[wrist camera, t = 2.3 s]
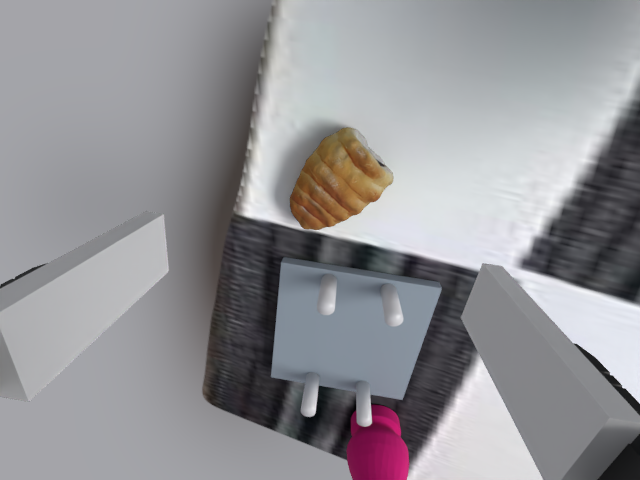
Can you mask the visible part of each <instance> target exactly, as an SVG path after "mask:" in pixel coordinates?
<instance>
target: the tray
mask: <svg viewBox="0 0 640 480" xmlns="http://www.w3.org/2000/svg"><path fill="white" fill-rule="evenodd" d="M441 289H442V288H441V286H440V284H439V282H436V281H430V280H424V279H418V278H411V277H405V276H399V275H393V274H387V273H380V272H374V271H368V270H362V269H356V268H349V267H343V266H337V265H331V264H324V263H318V262H312V261H306V260H300V259H293V258H287V257H283V260H282V262H281V271H280V282H279V293H278V304H277V316H276V327H275V338H274V349H273V361H272V372H271V377H273V378H279V379H285V380H291V381H296V382H302V383H305V387H304V393H303V399H302V405H301V413H302V414H303V415H304V416H307V417H311V416H314V415H315V413H316V404H317V396H318V387H319V386H325V387H331V388H337V389H343V390H348V391H354V392H356V413H357V423H358V425H360V426H364V427H366V426H369V425H371V424H372V415H371V399H370V394H371V395H377V396H383V397H389V398H395V399H400V400H402V399H403V397H404V394H405V391H406V388H407V385H408V382H409V380H410V377H411V374H412V371H413V368H414V365H415V363H416V360H417V357H418V354H419V351H420V349H421V346H422V343H423V340H424V337H425V334H426V332H427V329H428V326H429V323H430V320H431V317H432V315H433V312H434V309H435V306H436V303H437V300H438V298H439V295H440V292H441Z"/></svg>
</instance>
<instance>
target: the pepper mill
mask: <svg viewBox="0 0 640 480" xmlns="http://www.w3.org/2000/svg"><path fill="white" fill-rule="evenodd" d="M371 415H372V424H371V425H369V426H366V427H364V426H360V425H358V423H357V413H356V411H355V412H354V413H353V415H352V417H351V434H352V438H351V439H350V441H349V443H348V446H347V461H348V465H349V470H350V473H351V476H352V478H353V480H407V476H408V469H409V456H408V449H407V446H406V444H405V443H404V441H403V440H402V439H401V437H400V435H401V430H400V423H399V418H398V416H397V415H396V413H395V412H394V411H393V410H391V409H390V408H388V407H385V406H382V405H374V404H373V405H371Z"/></svg>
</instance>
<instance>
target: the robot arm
mask: <svg viewBox="0 0 640 480" xmlns="http://www.w3.org/2000/svg"><path fill="white" fill-rule="evenodd" d="M168 272H169V267H168V256H167V246H166V234H165V223H164V214H160V213H153V212H147V211H146V212H143V213H142V214H140V215H138V216H136V217H134V218H132V219H130V220H128V221H126V222H125V223H123V224H121V225H119V226H117V227H115V228H113V229H111V230H110V231H108V232H106V233H104V234H102V235H100V236H98V237H96V238H95V239H93V240H91V241H89V242H87V243H85V244H83V245H82V246H79V247H78V248H76V249H74V250H72V251H70V252H68V253H67V254H64V255H63V256H61V257H59V258H57V259H55V260H53V261H51V262H50V263H47V264H43V265H40V266H37V267H34V268H32V269H30V270H28V271H26V272H24V273H22V274H20V275H18V276H16V277H15V279H11V280H9V281H7V282H5V283H3V284H1V286H0V397H4V398H10V399H15V400H21V401H27V402H29V401H30V400H31V399H32V398H33V397H34V396H36V394H38V393H39V392H40V391H41V390H42V389H43V388H44V387H45V386H46V385H47V384H48V383H49V382H51V381H52V380H53V379H54V378H55V377H56V376H57V375H58V374H59V373H60V372H61V371H62V370H63V369H64V368H66V367H67V366H68V365H69V364H70V363H71V362H72V361H73V360H74V359H75V358H76V357H77V356H78V355H80V354H81V353H82V352H83V351H84V350H85V349H86V348H87V347H88V346H89V345H90V344H91V343H92V342H94V341H95V340H96V339H97V337H99V336H100V335H101V334H102V333H103V332H104V331H105V330H106V329H108V328H109V327H110V326H111V325H112V324H113V323H114V322H115V321H116V320H117V319H118V318H119V317H120V316H121V315H123V313H125V312H126V311H127V310H128V309H129V308H130V307H131V306H132V305H133V304H134V303H135V302H137V301H138V300H139V299H140V298H141V297H142V296H143V295H144V294H145V293H146V292H147V291H148V290H149V289H150V288H151V287H152V286H153V285H155V284H156V283H157V282H158V281H159V280H160V279H161V278H162V277H163V276H164V275H165V274H167V273H168ZM461 319H462V321H463V323H464V325H465V327H466V329H467V331H468V333H469V335H470V337H471V339H472V341H473V343H474V345H475V347H476V349H477V351H478V353H479V354H480V356H481V358H482V360H483V362H484V364H485V366H486V368H487V370H488V372H489V374H490V376H491V378H492V380H493V382H494V384H495V386H496V388H497V390H498V392H499V394H500V396H501V397H502V399H503V401H504V403H505V405H506V407H507V409H508V411H509V413H510V415H511V417H512V419H513V421H514V423H515V425H516V427H517V429H518V431H519V433H520V435H521V437H522V439H523V441H524V442H525V444H526V446H527V448H528V450H529V452H530V454H531V456H532V458H533V460H534V462H535V464H536V466H537V468H538V470H539V472H540V474H541V476H542V478H543V480H640V404H639V403H638V402H637V400H636V399H635V398H634V397H633V396H632V395H631V394H630V393H629V392H628V391H627V390H626V389H624V388H622V385H621V384H620V383H619V382H618V381H617V380H616V379H615V378H614V376H611V375H610V372H609V371H608V370H607V369H606V368H605V367H604V366H603V365H602V364H601V363H600V362H599V361H598V360H597V359H596V358H595V357H594V356H592V355H591V354H590V353H588V352H587V351H586V350H584V349H583V348H581V347H580V346H579V345H577V344H573V343H572V342H571V341H570V339H569V338H568V337H567V336H566V335H565V334H564V333H563V332H562V331H561V330H560V329H559V328H558V326H557V325H556V324H555V323H554V322H553V321H552V320H551V319H550V318H549V317H548V316H547V315H546V313H545V312H544V311H543V310H542V309H541V308H540V307H539V306H538V305H537V304H536V303H535V302H534V300H533V299H532V298H531V297H530V296H529V295H528V294H527V293H526V292H525V291H524V290H523V289H522V287H521V286H520V285H519V284H518V283H517V282H516V281H515V280H514V279H513V278H512V277H511V276H510V274H509V273H508V272H507V271H506V270H505V269H504V268H503V267H502V266H497V265H491V264H484V263H483V264H482V266H481V269H480V271H479V274H478V276H477V279H476V281H475V284H474V286H473V289H472V291H471V294H470V296H469V299H468V301H467V304H466V306H465V309H464V311H463V314H462V316H461Z"/></svg>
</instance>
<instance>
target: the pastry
mask: <svg viewBox="0 0 640 480" xmlns="http://www.w3.org/2000/svg"><path fill="white" fill-rule="evenodd" d="M392 182H393V173H392V172H391V170H390V169H389V168H388V167H387V166H386V165H385V164H384V162H383V160H382V159H381V158H380V157H379V156H378V155H377V154H376V153H375V152H374V151H373V150H371V149H370V148H369V147H368V145H367V141H366V139H365V137H364V136H363V135H362V134H361V133H360V132H359V131H358V130H356V129H353V128H343V129H341V130H339V131H338V132H336V133H335V134H333V135H330V136H328V137H326V138H324V139H323V140H322V141H321V143H320V145H319V146H318V148H317V149H316V150H315V151H314V152H313V154H312V155H311V156H310V157H309V158H308V159H307V161H306V163H305V165H304V167H303V169H302V171H301V173H300V176H299V178H298V180H297V182H296V184H295V187H294V189H293V192H292V194H291V196H290V207H291V212H292V214H293V216H294V217H295V218H296V219H297V220H298V222H299V223H300V225H301V227H303V228H304V229H314V230H319V229H322V228H324V227H331V226H334V225H335V224H337V223H340V222H341V221H345V220H347V219H348V218H349V217H351V216H353V215H357V214H359V213H361V211H362V210H363V208H364V207H365V206H367V205H368V204H369V203H370V202H375V201H376V200H378V199H379V198H380V196H381V194H382V192H383V190H384V189H385V188H386V187H387V186H388V185H390V184H392Z"/></svg>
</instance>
